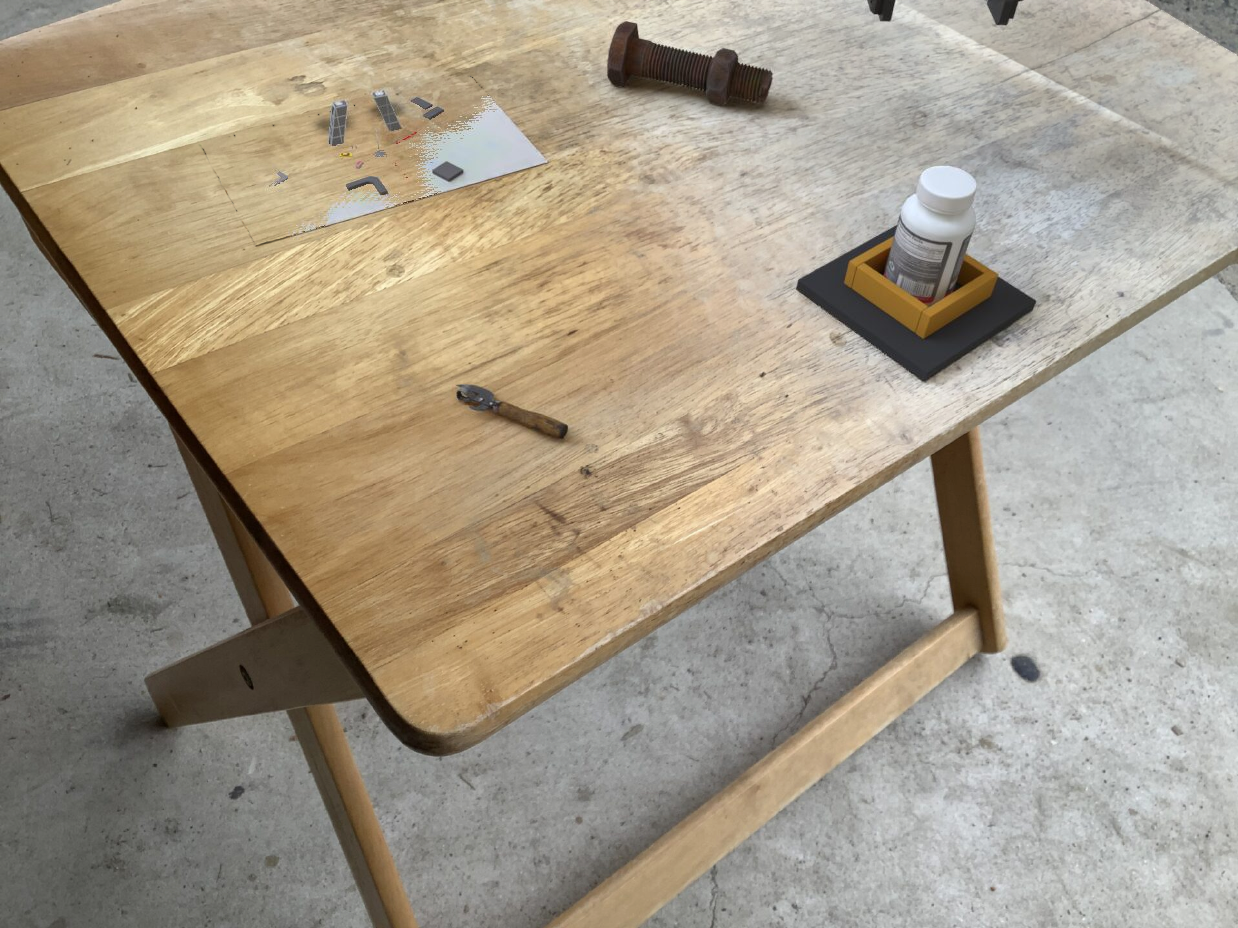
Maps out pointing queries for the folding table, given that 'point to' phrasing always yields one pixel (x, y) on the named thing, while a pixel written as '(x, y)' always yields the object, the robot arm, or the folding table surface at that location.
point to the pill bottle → (933, 234)
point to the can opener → (511, 411)
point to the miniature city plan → (458, 164)
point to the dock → (914, 307)
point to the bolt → (685, 68)
